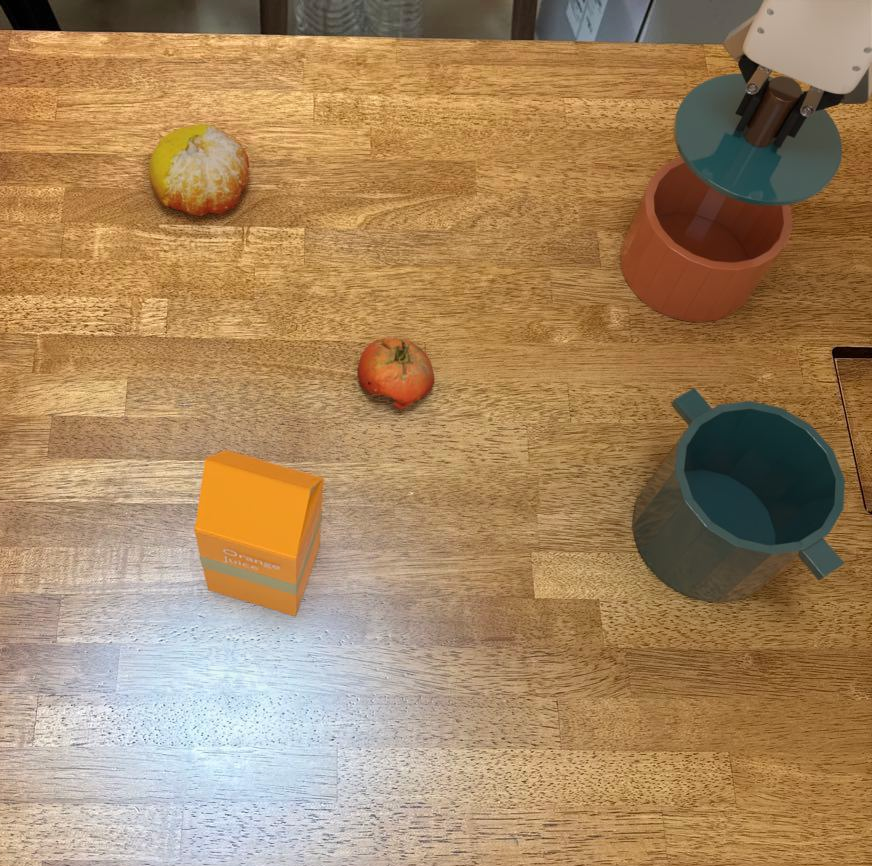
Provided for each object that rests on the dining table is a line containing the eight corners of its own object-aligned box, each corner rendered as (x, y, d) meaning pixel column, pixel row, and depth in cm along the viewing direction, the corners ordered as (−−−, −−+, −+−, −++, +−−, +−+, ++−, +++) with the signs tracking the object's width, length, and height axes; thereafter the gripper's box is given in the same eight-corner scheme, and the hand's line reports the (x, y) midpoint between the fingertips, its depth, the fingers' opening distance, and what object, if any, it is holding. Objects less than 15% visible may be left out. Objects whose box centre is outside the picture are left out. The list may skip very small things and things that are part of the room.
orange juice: (296, 618, 95) (296, 533, 76) (206, 590, 96) (185, 500, 77) (320, 544, 98) (327, 445, 79) (233, 518, 99) (219, 415, 80)
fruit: (182, 242, 111) (162, 177, 104) (145, 198, 117) (124, 134, 110) (272, 201, 113) (258, 135, 107) (231, 160, 119) (216, 95, 113)
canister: (696, 192, 116) (727, 132, 108) (783, 285, 112) (822, 230, 103) (592, 245, 113) (616, 188, 105) (678, 344, 108) (709, 292, 100)
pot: (698, 421, 105) (748, 354, 93) (830, 578, 98) (901, 526, 87) (585, 487, 101) (623, 425, 90) (715, 653, 95) (773, 609, 83)
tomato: (453, 396, 103) (411, 370, 98) (402, 435, 106) (358, 411, 101) (429, 339, 107) (387, 311, 102) (380, 378, 110) (337, 352, 105)
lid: (761, 61, 100) (792, 2, 94) (870, 169, 95) (910, 113, 89) (637, 121, 97) (661, 63, 90) (744, 235, 92) (777, 183, 86)
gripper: (982, -46, 77) (858, 136, 94) (778, -121, 80) (693, 70, 97) (957, 16, 75) (834, 192, 92) (747, -64, 77) (665, 121, 94)
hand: (762, 127), depth 94 cm, fingers closed on lid, 3 cm apart
